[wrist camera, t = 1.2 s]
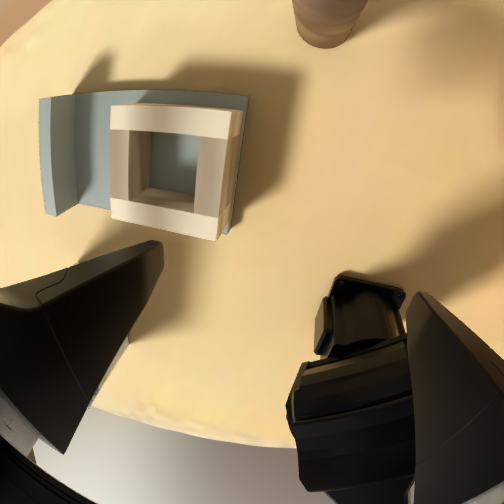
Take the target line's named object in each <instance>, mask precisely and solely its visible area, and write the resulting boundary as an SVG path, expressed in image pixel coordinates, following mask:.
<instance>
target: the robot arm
mask: <svg viewBox="0 0 504 504" xmlns="http://www.w3.org/2000/svg"><path fill="white" fill-rule="evenodd" d="M163 268H164V250H163V244H162V243H161V242H159V241H154V240H150V241H147V242H144V243H140V244H137V245H134V246H131V247H128V248H125V249H122V250H119V251H115V252H112V253H109V254H106V255H103V256H100V257H97V258H94V259H91V260H88V261H85V262H82V263H80V264H77V265H74V266H71V267H69V268H65V269H62V270H59V271H56V272H53V273H50V274H47V275H44V276H41V277H38V278H34V279H31V280H28V281H24V282H21V283H18V284H14V285H11V286H8V287H4V288H0V504H97V503H95V502H94V501H92V500H90V499H88V498H86V497H85V496H83V495H81V494H80V493H78V492H76V491H74V490H73V489H71V488H69V487H68V486H66V485H65V484H63V483H62V482H60V481H59V480H57V479H56V478H54V477H53V476H51V475H50V474H49V473H47V472H46V471H44V470H43V469H41V468H40V467H39V466H37V464H36V460H35V456H34V452H33V446H34V444H35V443H36V441H37V440H38V438H39V439H41V440H42V441H44V442H45V443H46V444H48V445H49V446H51V447H52V448H54V449H55V450H57V451H59V452H60V453H61V454H64V453H65V452H66V450H67V448H68V446H69V444H70V441H71V439H72V437H73V435H74V433H75V431H76V429H77V427H78V425H79V423H80V421H81V419H82V417H83V415H84V413H85V411H86V410H87V408H88V406H89V404H90V401H91V400H92V398H93V396H94V394H95V392H96V390H97V388H98V386H99V385H100V383H101V381H102V379H103V377H104V375H105V374H106V372H107V370H108V368H109V366H110V365H111V363H112V361H113V359H114V358H115V356H116V354H117V352H118V351H119V349H120V347H121V345H122V344H123V342H124V340H125V339H126V337H127V335H128V334H129V332H130V330H131V328H132V327H133V325H134V323H135V322H136V320H137V319H138V317H139V315H140V314H141V312H142V310H143V309H144V307H145V305H146V304H147V302H148V300H149V298H150V296H151V293H152V291H153V289H154V287H155V285H156V283H157V281H158V279H159V277H160V275H161V273H162V271H163ZM338 281H343V282H342V283H337V282H338ZM399 294H402V295H400V296H398V295H399ZM405 297H406V293H405V291H404V290H403V289H400V288H396V287H391V286H387V285H382V284H378V283H373V282H369V281H364V280H360V279H355V278H351V277H346V276H341V275H339V276H337V277H335V279H334V281H333V284H332V286H331V289H330V292H329V294H328V297H327V296H326V297H324V298H323V299H322V302H321V305H320V308H319V310H318V313H317V316H316V318H315V336H314V352H315V354H316V355H320V360H317V361H313V362H309V361H308V362H304V363H302V364H301V367H300V369H299V372H298V374H297V377H296V379H295V381H294V384H293V386H292V389H291V391H290V393H289V396H288V400H287V402H286V410H287V414H286V419H287V421H288V424H289V428H290V431H291V433H292V435H293V437H294V438H295V441H296V446H297V452H298V462H299V479H300V481H301V482H302V484H303V485H304V487H305V488H306V490H307V491H308V492H321V491H323V492H324V493H325V494H326V495H327V496H328V497H329V498H330V499H331V500H333V501H334V502H335V503H336V504H411V493H410V488H411V486H412V485H413V483H414V481H415V490H414V504H504V360H503V359H502V358H501V357H500V356H499V355H498V354H497V353H496V352H495V351H494V350H493V349H491V348H490V347H489V346H488V345H487V344H486V343H485V342H484V341H483V340H482V339H481V338H480V337H478V336H477V335H476V334H475V333H474V332H473V331H472V330H471V329H470V328H468V327H467V326H466V325H465V324H464V323H463V322H462V321H460V320H459V319H458V318H457V317H456V316H455V315H454V314H452V313H451V312H450V311H449V310H448V309H446V308H445V307H444V306H443V305H442V304H441V303H439V302H438V301H437V300H436V299H435V298H433V297H432V296H431V295H430V294H428V293H427V292H421V291H417V292H416V293H415V295H414V296H413V299H412V301H411V303H410V305H409V307H408V309H407V312H406V326H407V333H406V332H405V329H404V326H403V322H402V319H401V316H400V313H399V309H400V307H401V305H402V303H403V301H404V299H405Z"/></svg>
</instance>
